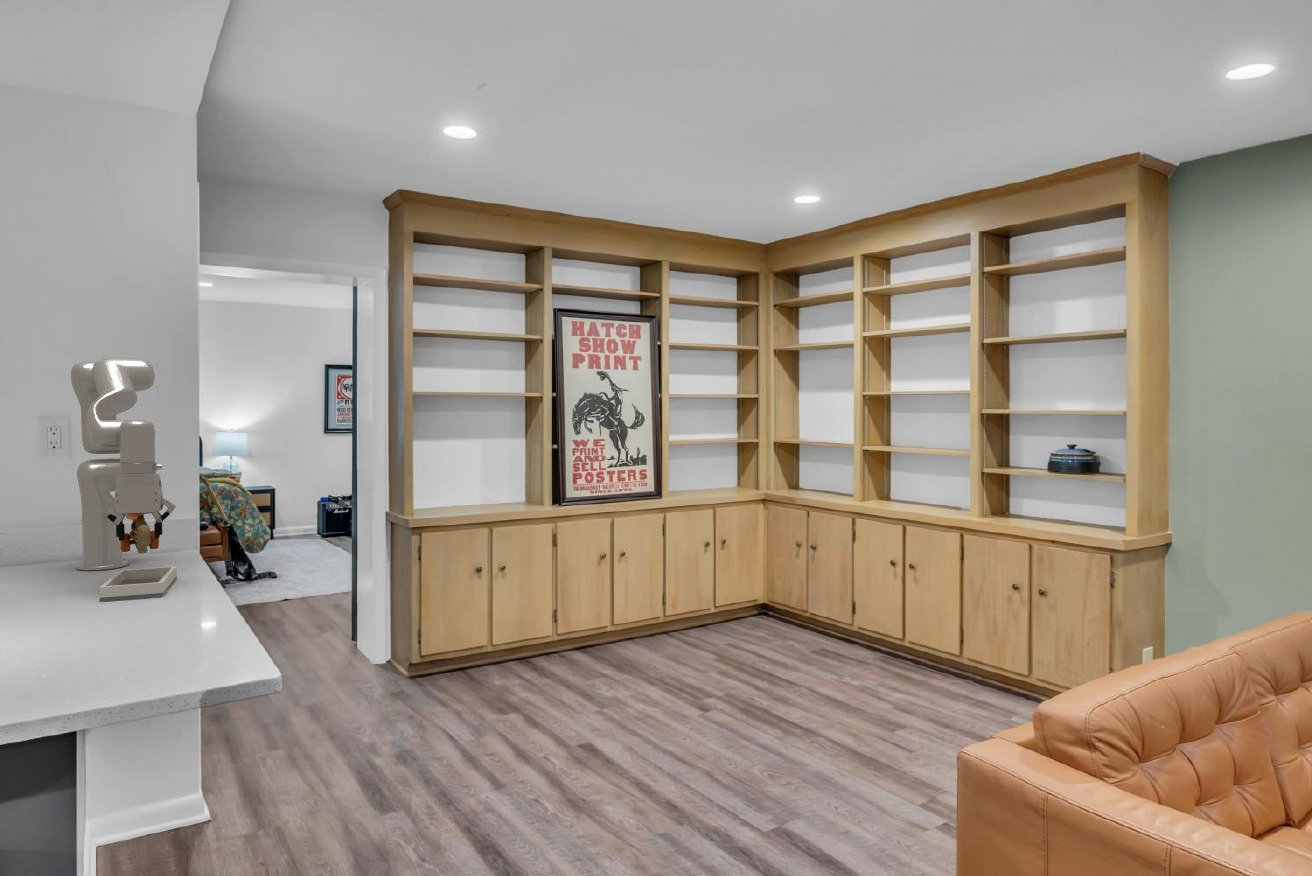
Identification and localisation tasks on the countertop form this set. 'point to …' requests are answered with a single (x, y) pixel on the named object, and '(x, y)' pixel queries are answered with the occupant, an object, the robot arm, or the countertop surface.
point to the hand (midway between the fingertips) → (139, 538)
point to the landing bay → (138, 583)
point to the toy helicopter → (139, 535)
